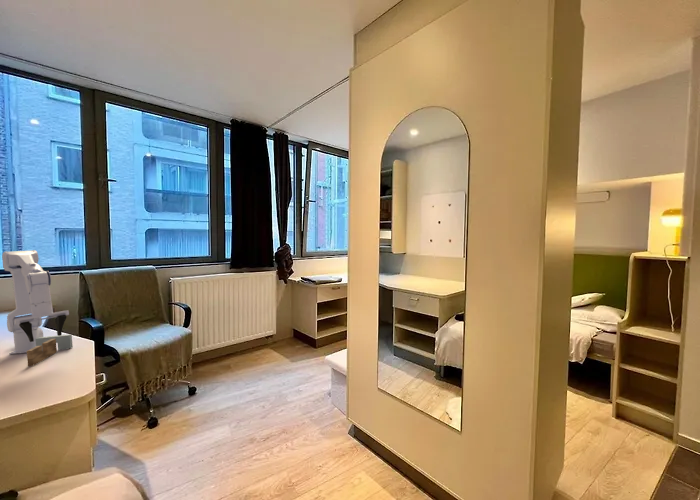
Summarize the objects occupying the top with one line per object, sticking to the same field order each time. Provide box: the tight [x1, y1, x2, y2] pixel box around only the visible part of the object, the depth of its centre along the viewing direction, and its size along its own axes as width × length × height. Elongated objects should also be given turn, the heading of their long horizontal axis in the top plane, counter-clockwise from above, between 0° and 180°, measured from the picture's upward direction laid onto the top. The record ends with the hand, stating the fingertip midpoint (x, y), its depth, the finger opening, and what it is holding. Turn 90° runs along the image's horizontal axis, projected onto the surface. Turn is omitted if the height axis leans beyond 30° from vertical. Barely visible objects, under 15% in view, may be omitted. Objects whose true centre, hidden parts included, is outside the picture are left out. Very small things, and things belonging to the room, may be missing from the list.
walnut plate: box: [26, 339, 58, 367], centre depth 123 cm, size 14×2×6 cm, turn 16°
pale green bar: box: [35, 333, 74, 351], centre depth 133 cm, size 2×12×6 cm, turn 106°
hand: (46, 338), depth 116 cm, fingers open, 7 cm apart
